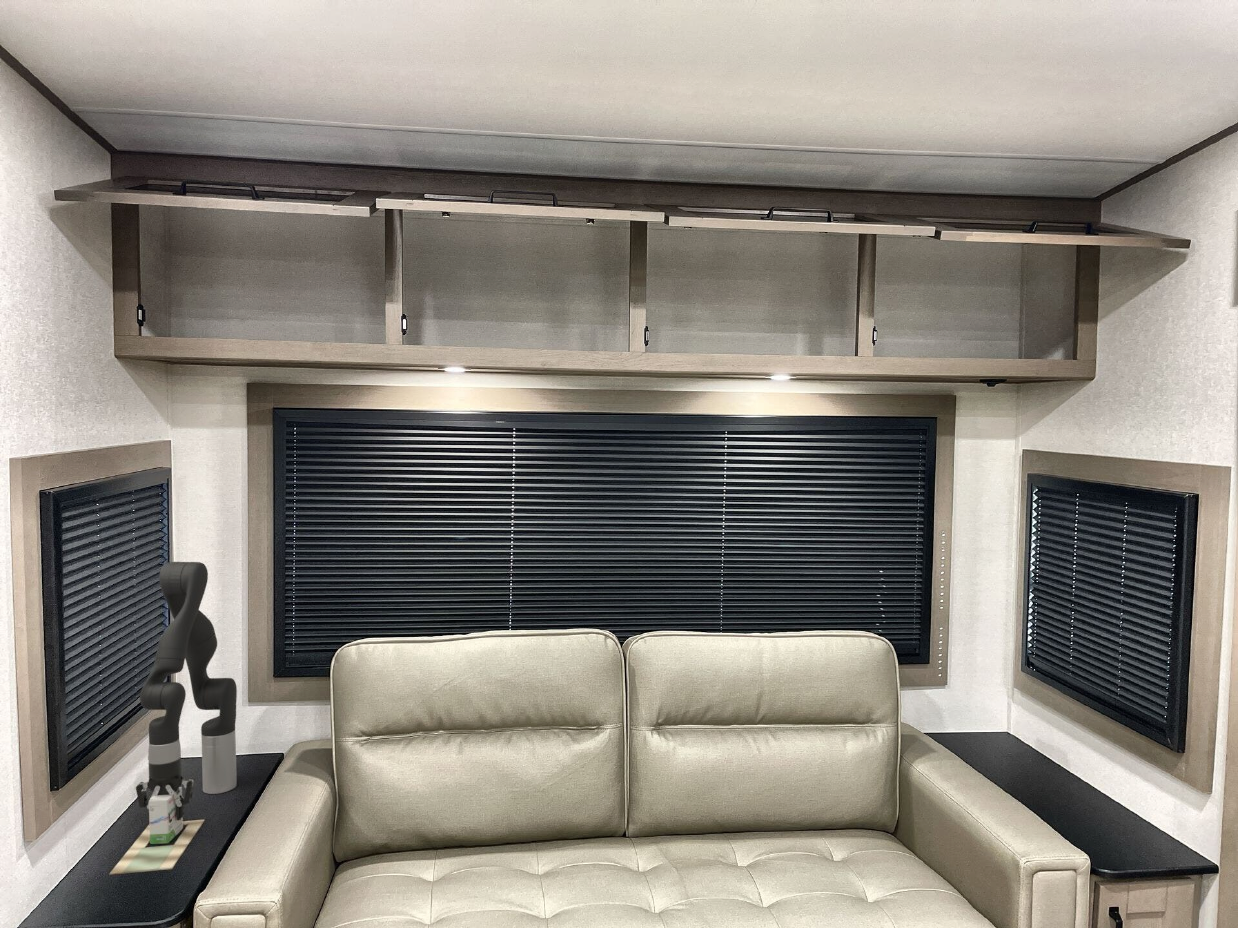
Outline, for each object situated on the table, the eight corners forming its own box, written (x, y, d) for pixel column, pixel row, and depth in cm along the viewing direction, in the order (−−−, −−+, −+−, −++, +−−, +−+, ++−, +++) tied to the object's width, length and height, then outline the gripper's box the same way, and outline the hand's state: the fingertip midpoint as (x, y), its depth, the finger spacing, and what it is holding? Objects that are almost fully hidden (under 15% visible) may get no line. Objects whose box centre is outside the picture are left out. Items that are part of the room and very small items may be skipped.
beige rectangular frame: (149, 825, 228) (149, 823, 228) (204, 820, 231) (204, 818, 231) (109, 874, 202) (109, 872, 202) (171, 868, 205) (171, 867, 205)
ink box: (168, 843, 217) (167, 799, 217) (149, 844, 217) (147, 799, 217) (184, 828, 226) (182, 785, 225) (165, 828, 226) (164, 785, 225)
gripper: (198, 750, 226) (200, 811, 226) (140, 754, 223) (142, 816, 224) (189, 760, 218) (191, 824, 219) (129, 765, 216) (131, 829, 216)
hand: (166, 819), depth 221 cm, fingers open, 5 cm apart
